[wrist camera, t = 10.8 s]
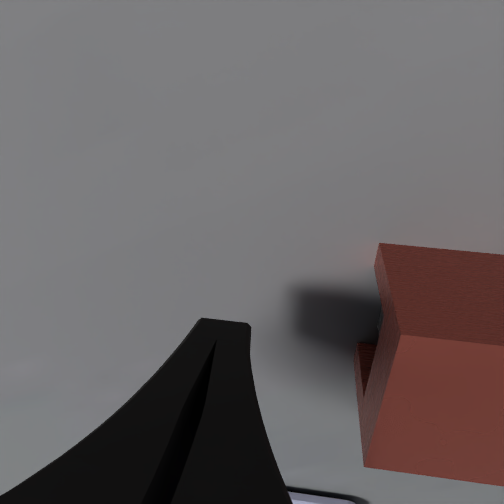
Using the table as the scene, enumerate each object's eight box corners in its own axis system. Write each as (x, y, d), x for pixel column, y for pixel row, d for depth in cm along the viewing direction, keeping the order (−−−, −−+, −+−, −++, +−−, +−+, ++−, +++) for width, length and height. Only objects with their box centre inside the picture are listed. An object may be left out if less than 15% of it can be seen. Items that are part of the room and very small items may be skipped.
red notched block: (569, 384, 15) (646, 506, 11) (353, 358, 15) (363, 467, 12) (638, 266, 12) (763, 375, 9) (378, 241, 13) (401, 334, 9)
